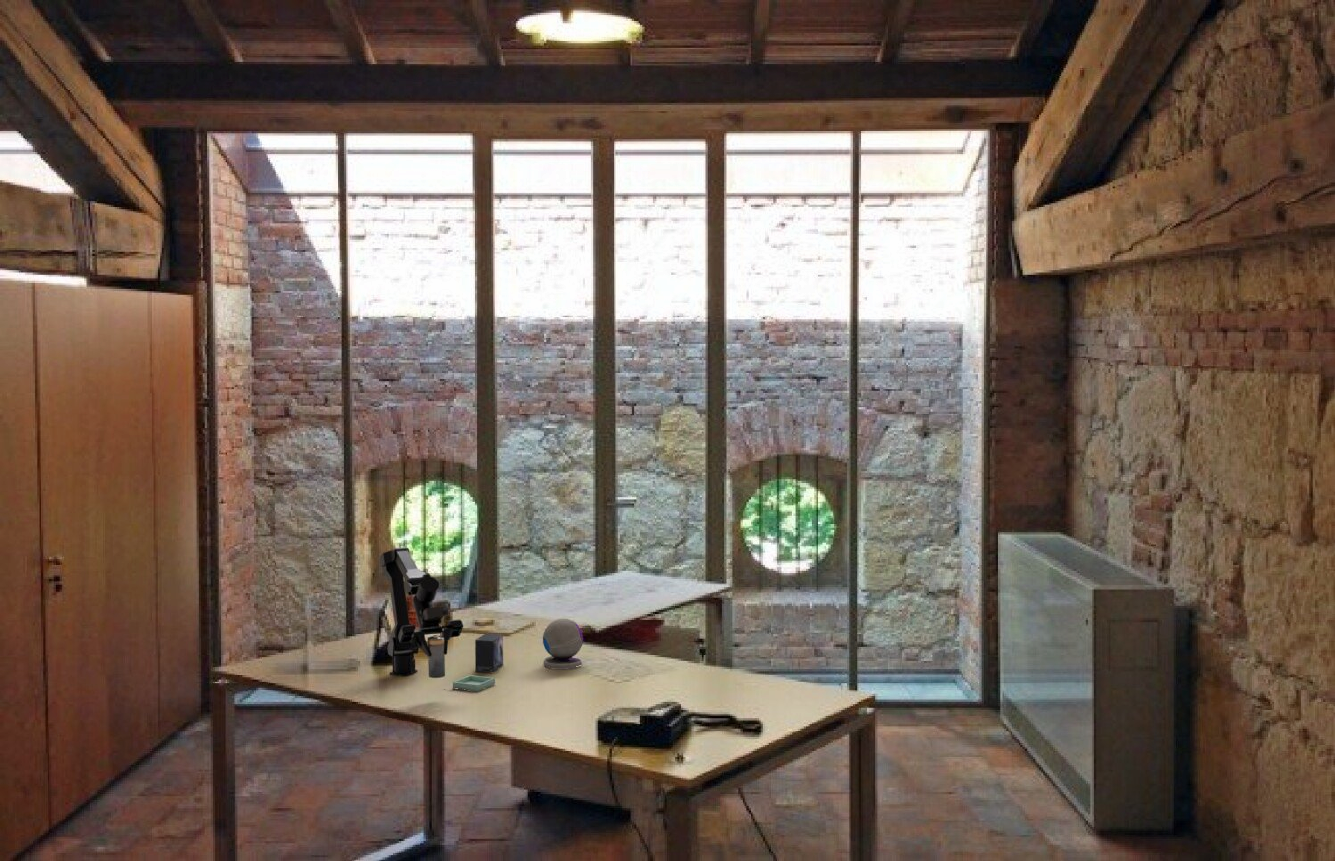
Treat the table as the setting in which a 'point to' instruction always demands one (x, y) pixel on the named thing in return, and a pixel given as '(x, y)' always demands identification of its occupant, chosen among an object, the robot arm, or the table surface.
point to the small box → (488, 652)
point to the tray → (474, 683)
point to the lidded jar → (436, 656)
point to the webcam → (562, 644)
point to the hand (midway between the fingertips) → (437, 655)
